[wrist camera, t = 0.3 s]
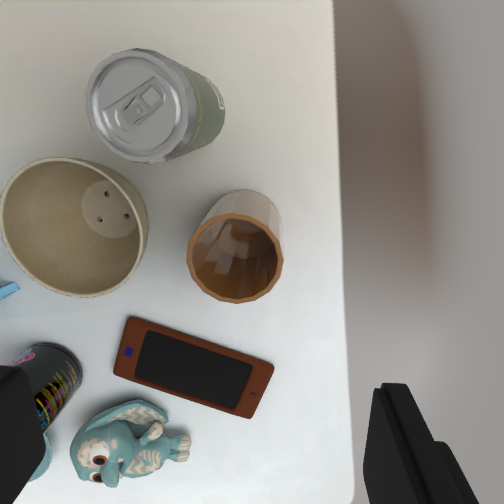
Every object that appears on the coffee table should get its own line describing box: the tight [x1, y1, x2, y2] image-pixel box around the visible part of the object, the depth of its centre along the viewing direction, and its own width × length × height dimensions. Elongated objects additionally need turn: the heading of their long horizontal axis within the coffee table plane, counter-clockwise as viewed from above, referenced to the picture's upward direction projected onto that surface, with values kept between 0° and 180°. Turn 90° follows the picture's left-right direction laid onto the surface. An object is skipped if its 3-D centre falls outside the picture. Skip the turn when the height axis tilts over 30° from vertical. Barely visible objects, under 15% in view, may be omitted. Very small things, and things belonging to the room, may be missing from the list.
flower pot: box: [0, 157, 149, 298], centre depth 28 cm, size 10×10×7 cm
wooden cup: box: [187, 190, 283, 304], centre depth 28 cm, size 6×6×8 cm
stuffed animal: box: [70, 399, 191, 487], centre depth 37 cm, size 11×7×12 cm
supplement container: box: [8, 344, 82, 435], centre depth 33 cm, size 7×7×10 cm
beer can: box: [86, 48, 225, 164], centre depth 23 cm, size 5×5×12 cm
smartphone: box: [113, 317, 274, 419], centre depth 36 cm, size 7×1×15 cm
